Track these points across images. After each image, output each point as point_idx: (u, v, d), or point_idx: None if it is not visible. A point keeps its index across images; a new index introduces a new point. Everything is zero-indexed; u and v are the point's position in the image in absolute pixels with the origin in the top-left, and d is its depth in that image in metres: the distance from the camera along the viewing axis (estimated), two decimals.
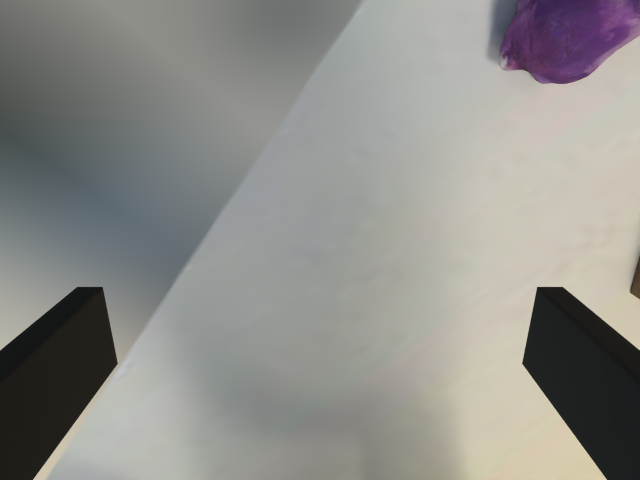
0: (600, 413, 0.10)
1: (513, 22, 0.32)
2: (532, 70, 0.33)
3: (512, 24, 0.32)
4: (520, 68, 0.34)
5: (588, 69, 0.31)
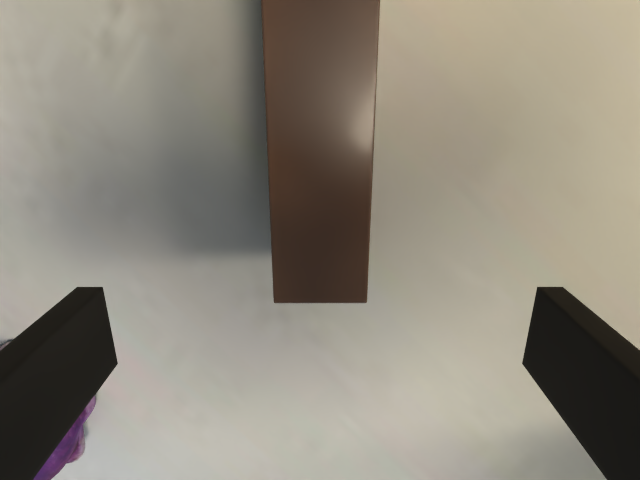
0: (600, 413, 0.10)
1: None
2: (67, 459, 0.32)
3: None
4: (75, 448, 0.33)
5: None
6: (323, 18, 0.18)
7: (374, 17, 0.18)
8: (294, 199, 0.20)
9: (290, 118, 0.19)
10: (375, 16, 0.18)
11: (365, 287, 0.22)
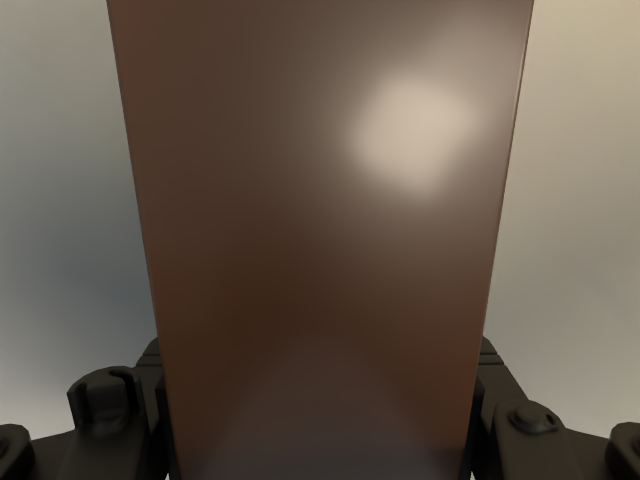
0: None
1: None
2: None
3: None
4: None
5: None
6: None
7: None
8: (242, 418, 0.07)
9: (215, 195, 0.06)
10: None
11: None
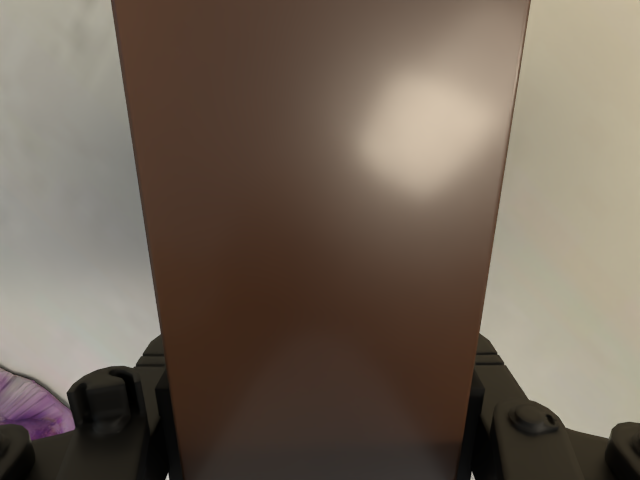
0: None
1: None
2: None
3: None
4: None
5: None
6: None
7: None
8: (242, 412, 0.07)
9: (217, 192, 0.06)
10: None
11: None
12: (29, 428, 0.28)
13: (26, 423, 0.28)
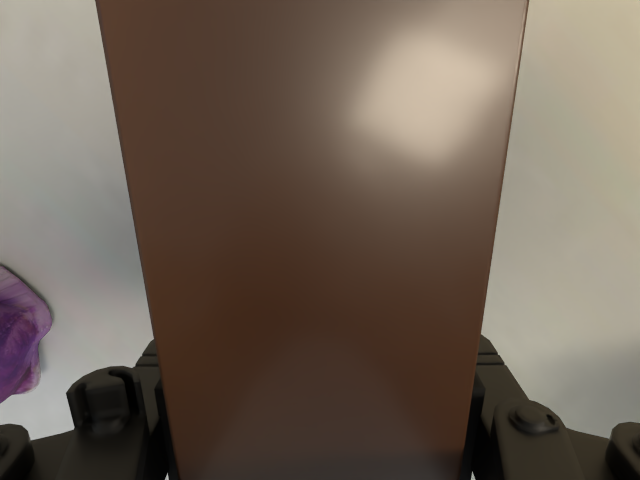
0: None
1: None
2: (14, 385, 0.26)
3: None
4: (27, 375, 0.27)
5: None
6: None
7: None
8: (240, 420, 0.07)
9: (209, 197, 0.06)
10: None
11: None
12: None
13: None
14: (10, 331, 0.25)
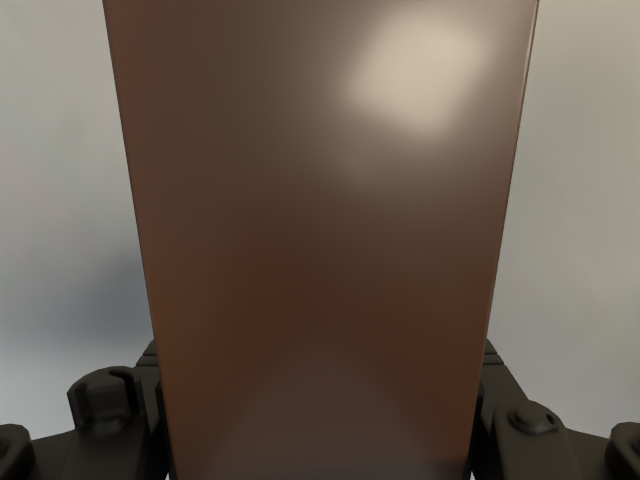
0: None
1: None
2: None
3: None
4: None
5: None
6: None
7: None
8: (239, 422, 0.07)
9: (214, 194, 0.05)
10: None
11: None
12: None
13: None
14: None
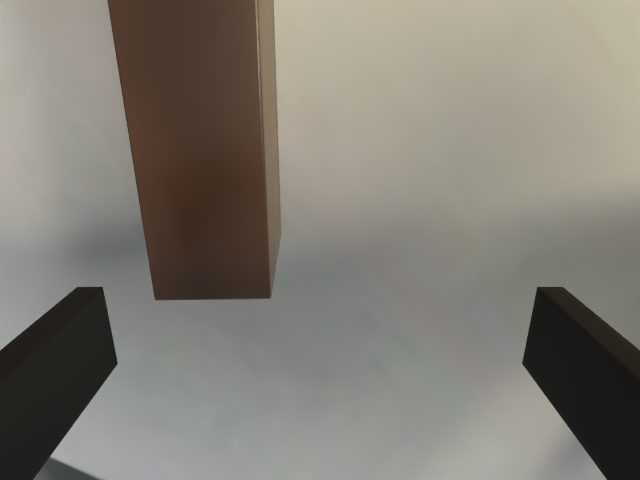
0: (600, 413, 0.10)
1: None
2: None
3: None
4: None
5: None
6: None
7: None
8: (165, 167, 0.16)
9: (148, 59, 0.15)
10: None
11: (267, 279, 0.18)
12: None
13: None
14: None
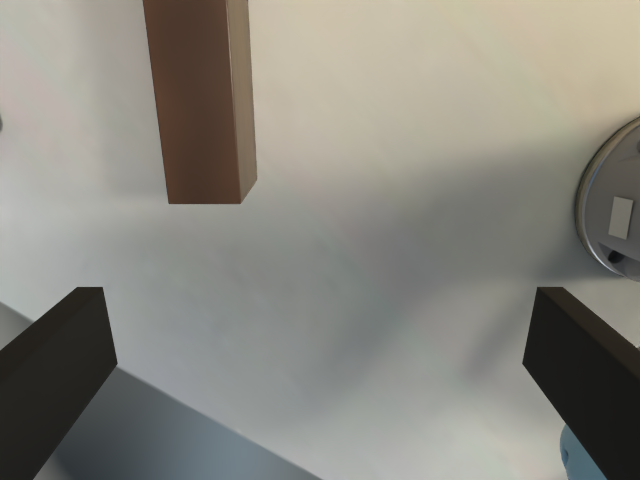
0: (600, 413, 0.10)
1: None
2: None
3: None
4: None
5: None
6: None
7: None
8: (176, 117, 0.27)
9: (167, 53, 0.26)
10: None
11: (238, 190, 0.29)
12: None
13: None
14: None
